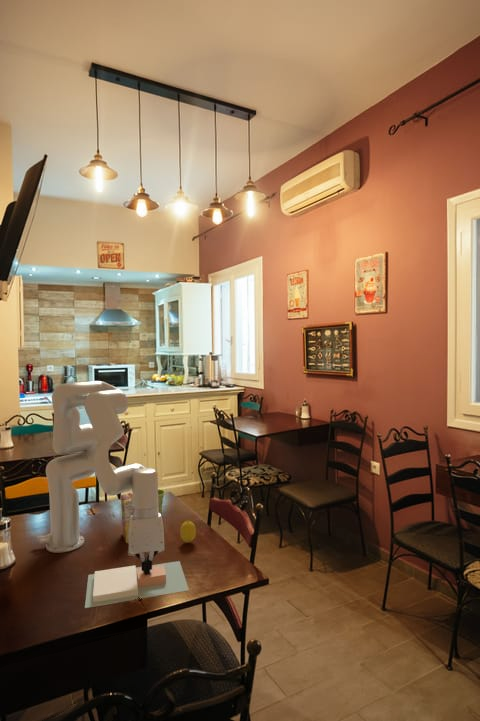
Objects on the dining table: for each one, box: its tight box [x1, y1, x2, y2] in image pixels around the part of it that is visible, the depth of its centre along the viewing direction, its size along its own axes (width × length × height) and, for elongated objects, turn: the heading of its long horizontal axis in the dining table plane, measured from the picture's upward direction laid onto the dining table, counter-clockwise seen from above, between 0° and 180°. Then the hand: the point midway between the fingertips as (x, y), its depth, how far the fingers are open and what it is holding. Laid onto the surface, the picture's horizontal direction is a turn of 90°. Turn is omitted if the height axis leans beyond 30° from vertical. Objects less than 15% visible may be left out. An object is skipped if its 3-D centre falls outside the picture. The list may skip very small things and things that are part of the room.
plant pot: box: [158, 488, 166, 514], centre depth 184 cm, size 9×9×9 cm
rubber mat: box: [84, 560, 190, 609], centre depth 128 cm, size 28×18×1 cm, turn 106°
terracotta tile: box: [137, 565, 166, 588], centre depth 129 cm, size 8×6×2 cm
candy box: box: [120, 492, 133, 544], centre depth 159 cm, size 9×4×15 cm, turn 23°
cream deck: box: [93, 565, 138, 602], centre depth 127 cm, size 12×14×2 cm
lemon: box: [179, 520, 197, 544], centre depth 155 cm, size 6×6×8 cm
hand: (146, 572), depth 129 cm, fingers closed
